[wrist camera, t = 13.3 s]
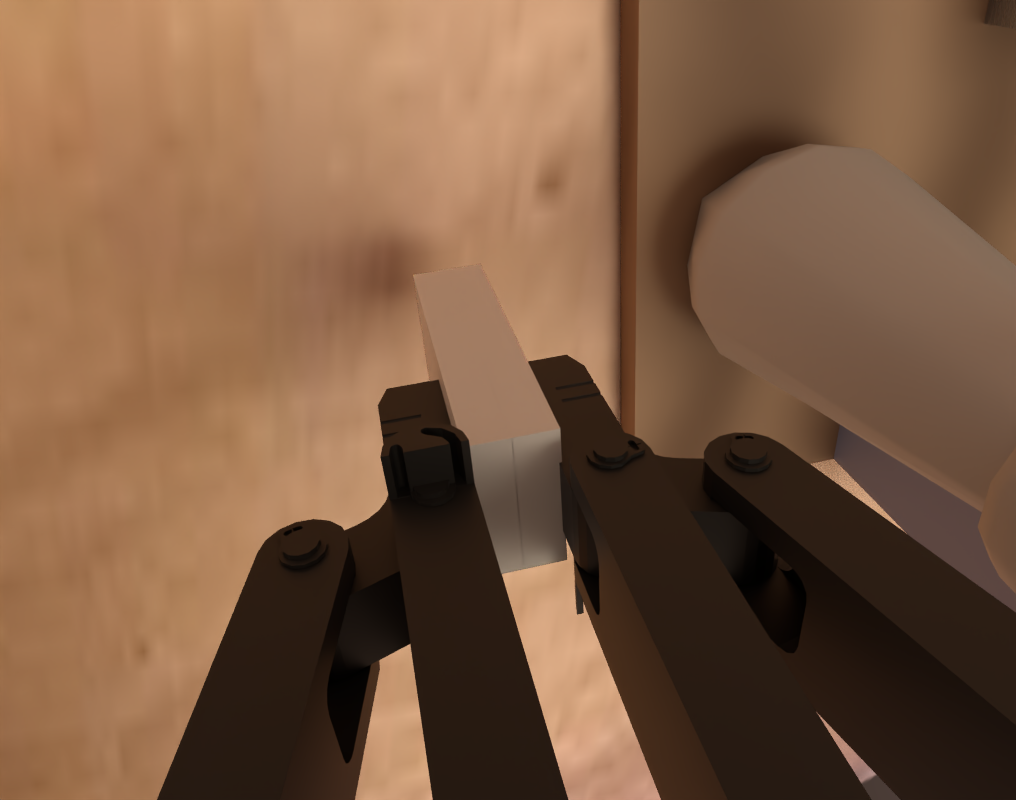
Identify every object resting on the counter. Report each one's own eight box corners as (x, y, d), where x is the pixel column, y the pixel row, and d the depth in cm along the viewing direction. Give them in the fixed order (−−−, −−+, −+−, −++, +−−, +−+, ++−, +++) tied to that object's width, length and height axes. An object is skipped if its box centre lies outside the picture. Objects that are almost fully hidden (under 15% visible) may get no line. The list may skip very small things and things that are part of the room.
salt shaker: (850, 84, 19) (1537, 301, 9) (867, 279, 23) (1384, 613, 12) (633, 179, 19) (1051, 513, 9) (681, 361, 23) (1029, 768, 12)
